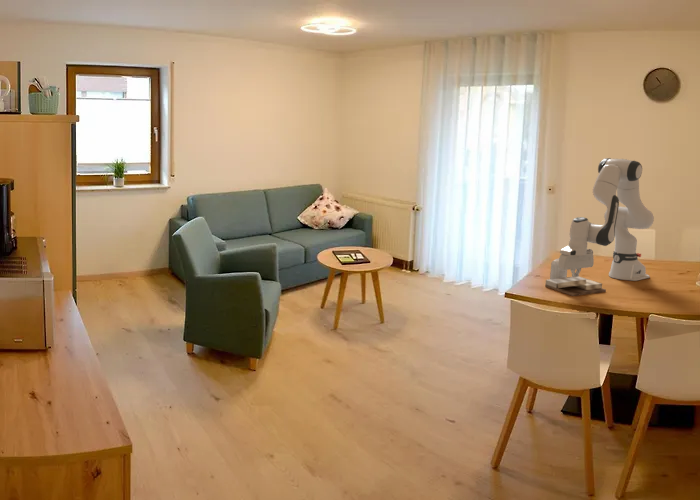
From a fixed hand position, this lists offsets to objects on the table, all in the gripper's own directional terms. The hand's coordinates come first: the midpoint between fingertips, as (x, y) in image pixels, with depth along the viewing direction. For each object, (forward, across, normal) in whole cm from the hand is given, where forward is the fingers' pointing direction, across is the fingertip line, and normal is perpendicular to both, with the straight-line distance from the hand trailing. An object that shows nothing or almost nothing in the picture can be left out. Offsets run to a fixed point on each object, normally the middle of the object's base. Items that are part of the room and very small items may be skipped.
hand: (575, 276), depth 349 cm
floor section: (+8, -6, -5) cm, 11 cm away
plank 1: (+5, 0, -1) cm, 5 cm away
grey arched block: (+8, -10, -22) cm, 25 cm away
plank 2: (+7, -11, -2) cm, 13 cm away
